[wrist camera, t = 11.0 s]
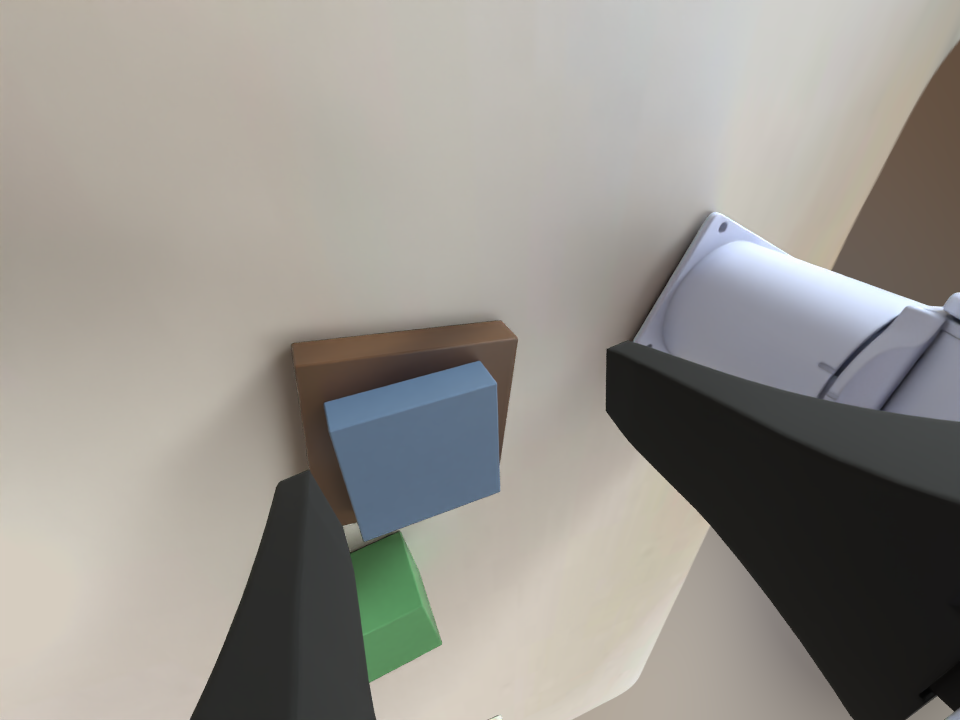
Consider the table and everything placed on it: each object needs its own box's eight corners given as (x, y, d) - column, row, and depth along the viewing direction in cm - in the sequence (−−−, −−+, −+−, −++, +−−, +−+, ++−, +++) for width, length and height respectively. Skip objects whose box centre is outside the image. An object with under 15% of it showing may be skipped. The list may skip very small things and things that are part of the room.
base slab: (501, 319, 21) (519, 337, 19) (483, 463, 25) (497, 486, 24) (290, 342, 17) (293, 366, 16) (314, 503, 22) (319, 532, 21)
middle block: (480, 359, 19) (497, 382, 18) (485, 466, 23) (500, 492, 21) (322, 402, 17) (328, 431, 16) (356, 511, 21) (363, 542, 19)
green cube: (399, 530, 26) (423, 605, 22) (419, 571, 28) (442, 644, 25) (319, 566, 24) (330, 652, 21) (347, 606, 27) (361, 687, 24)
